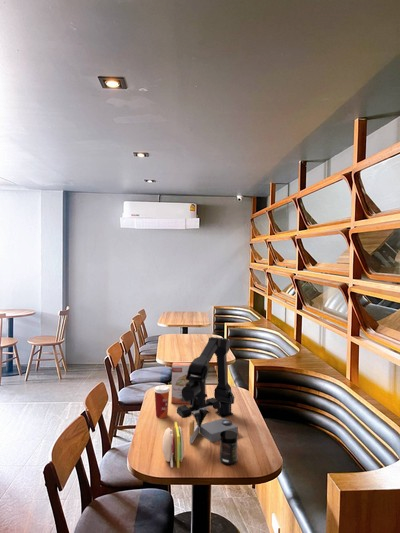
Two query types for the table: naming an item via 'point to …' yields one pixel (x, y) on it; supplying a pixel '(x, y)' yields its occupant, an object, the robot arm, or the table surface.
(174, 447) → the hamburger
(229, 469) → the table surface
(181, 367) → the cracker box
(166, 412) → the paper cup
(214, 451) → the table surface
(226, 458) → the supplement container
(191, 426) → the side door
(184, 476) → the table surface
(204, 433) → the box with round button
